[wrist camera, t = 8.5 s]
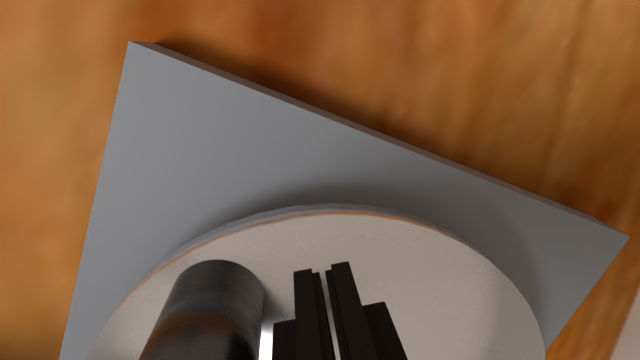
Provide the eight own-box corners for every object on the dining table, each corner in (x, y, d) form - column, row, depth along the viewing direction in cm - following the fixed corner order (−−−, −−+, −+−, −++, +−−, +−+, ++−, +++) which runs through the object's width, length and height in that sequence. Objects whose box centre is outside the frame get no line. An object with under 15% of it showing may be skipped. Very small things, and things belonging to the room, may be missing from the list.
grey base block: (402, 486, 26) (419, 547, 23) (59, 434, 21) (18, 503, 18) (589, 214, 20) (650, 247, 16) (153, 42, 15) (116, 40, 11)
